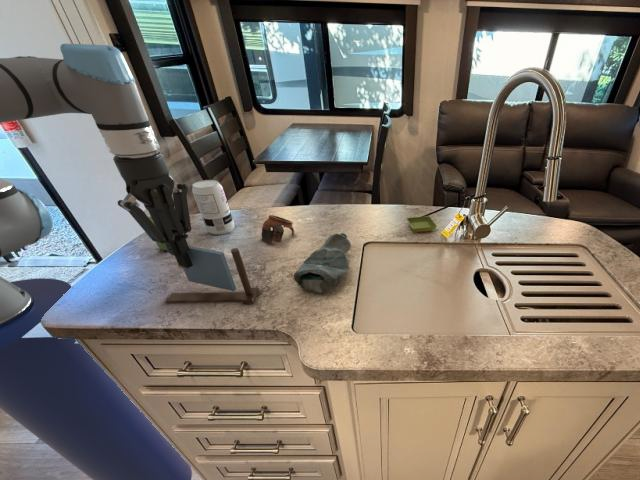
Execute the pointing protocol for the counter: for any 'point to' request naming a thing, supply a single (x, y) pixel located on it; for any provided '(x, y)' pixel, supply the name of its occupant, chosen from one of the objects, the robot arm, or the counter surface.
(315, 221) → the counter surface
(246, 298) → the brown l-shaped stand
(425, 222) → the green square dish
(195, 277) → the door
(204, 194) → the supplement can
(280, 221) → the brown piece
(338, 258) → the grey soft lump
